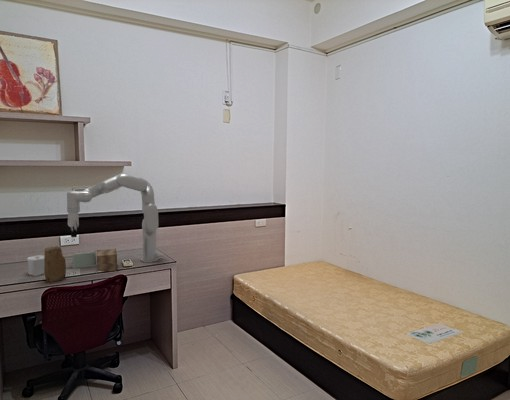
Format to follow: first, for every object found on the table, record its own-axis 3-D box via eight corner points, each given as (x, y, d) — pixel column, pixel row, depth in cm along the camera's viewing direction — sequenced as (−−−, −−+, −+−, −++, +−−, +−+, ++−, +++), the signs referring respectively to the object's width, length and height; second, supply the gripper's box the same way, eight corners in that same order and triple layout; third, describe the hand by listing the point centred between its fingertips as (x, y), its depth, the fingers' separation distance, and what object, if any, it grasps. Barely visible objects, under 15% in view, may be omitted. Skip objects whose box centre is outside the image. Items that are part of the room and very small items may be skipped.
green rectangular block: (96, 264, 252) (96, 251, 251) (73, 267, 244) (72, 253, 243) (95, 263, 254) (95, 250, 253) (72, 266, 246) (72, 252, 245)
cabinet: (116, 264, 257) (115, 248, 256) (117, 270, 245) (116, 254, 243) (97, 266, 253) (96, 250, 251) (97, 272, 240) (96, 255, 238)
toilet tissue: (43, 269, 243) (42, 254, 241) (51, 273, 235) (50, 258, 234) (25, 272, 234) (24, 257, 233) (32, 277, 227) (32, 261, 226)
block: (46, 283, 218) (45, 249, 216) (44, 279, 224) (42, 247, 221) (67, 279, 225) (66, 247, 223) (63, 276, 231) (62, 244, 228)
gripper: (64, 208, 250) (65, 235, 252) (69, 211, 238) (70, 239, 240) (76, 207, 254) (77, 234, 256) (82, 211, 243) (82, 238, 245)
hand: (73, 236), depth 248 cm, fingers closed
